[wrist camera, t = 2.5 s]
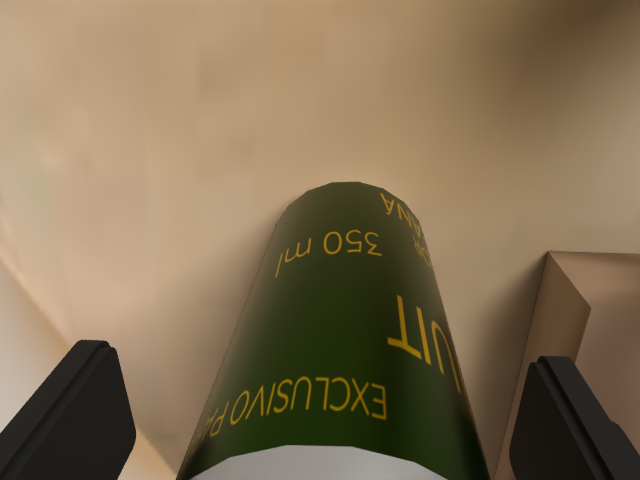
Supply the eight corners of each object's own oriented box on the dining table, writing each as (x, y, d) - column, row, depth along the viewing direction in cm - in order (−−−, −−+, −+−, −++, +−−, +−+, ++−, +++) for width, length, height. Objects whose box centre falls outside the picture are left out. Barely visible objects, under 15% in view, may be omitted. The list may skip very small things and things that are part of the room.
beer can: (322, 326, 19) (268, 753, 8) (246, 217, 17) (46, 583, 6) (448, 271, 17) (592, 708, 6) (380, 145, 15) (423, 465, 5)
